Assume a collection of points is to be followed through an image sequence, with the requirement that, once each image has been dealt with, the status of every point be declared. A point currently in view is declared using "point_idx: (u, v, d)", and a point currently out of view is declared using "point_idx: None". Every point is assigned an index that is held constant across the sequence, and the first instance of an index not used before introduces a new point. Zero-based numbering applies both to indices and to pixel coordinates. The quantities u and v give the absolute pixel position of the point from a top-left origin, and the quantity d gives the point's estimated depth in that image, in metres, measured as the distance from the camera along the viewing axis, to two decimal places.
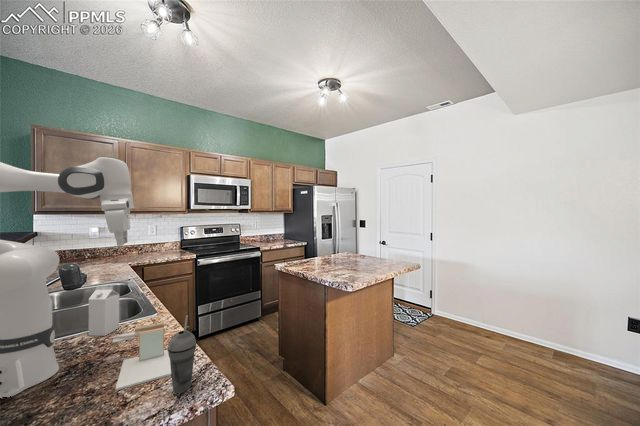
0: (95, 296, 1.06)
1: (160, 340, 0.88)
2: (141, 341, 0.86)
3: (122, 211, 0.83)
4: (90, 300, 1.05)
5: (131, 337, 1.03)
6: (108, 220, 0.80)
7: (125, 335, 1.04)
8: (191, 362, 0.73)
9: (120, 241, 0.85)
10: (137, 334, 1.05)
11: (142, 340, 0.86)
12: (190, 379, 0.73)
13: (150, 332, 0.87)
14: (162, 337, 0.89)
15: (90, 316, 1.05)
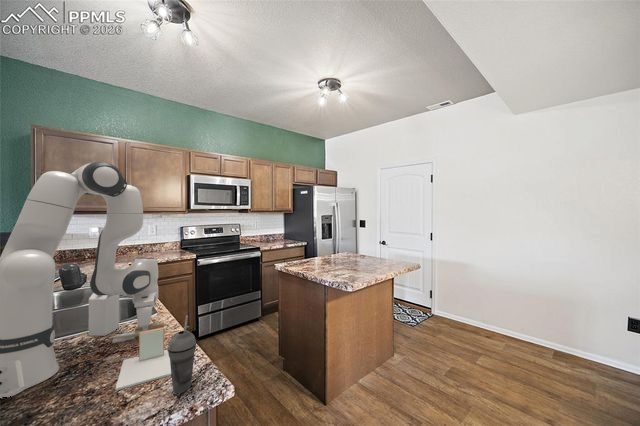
0: (95, 296, 1.06)
1: (160, 340, 0.88)
2: (141, 341, 0.86)
3: (150, 308, 1.00)
4: (90, 300, 1.05)
5: (131, 337, 1.03)
6: (139, 317, 0.98)
7: (125, 335, 1.04)
8: (191, 362, 0.73)
9: (146, 328, 1.05)
10: (137, 334, 1.05)
11: (142, 340, 0.86)
12: (190, 379, 0.73)
13: (150, 332, 0.87)
14: (162, 337, 0.89)
15: (90, 316, 1.05)
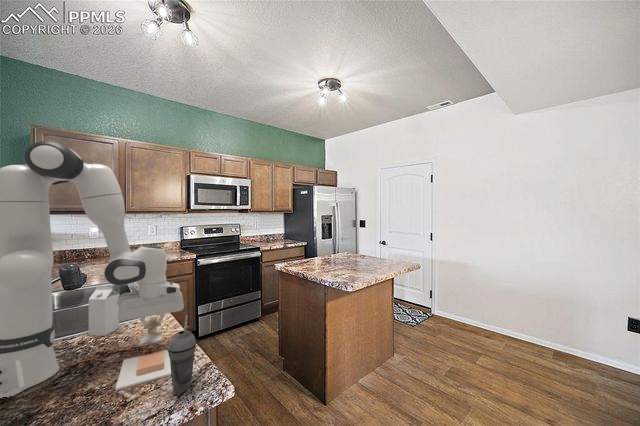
0: (95, 296, 1.06)
1: None
2: None
3: None
4: (90, 300, 1.05)
5: (159, 333, 0.92)
6: None
7: (148, 337, 0.89)
8: (191, 362, 0.73)
9: None
10: (156, 330, 0.93)
11: None
12: (190, 379, 0.73)
13: (149, 371, 0.79)
14: None
15: (90, 316, 1.05)
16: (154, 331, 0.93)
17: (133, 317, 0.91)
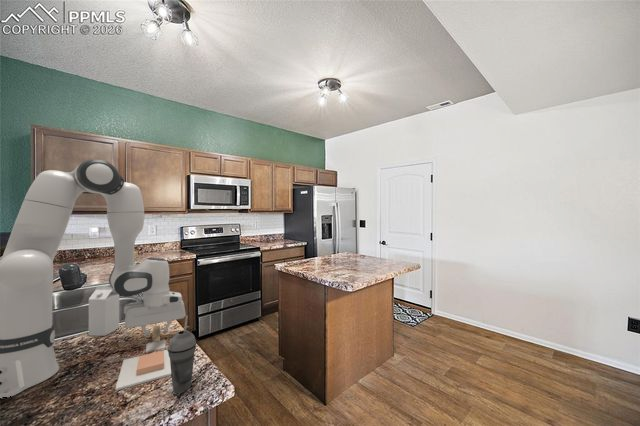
0: (95, 296, 1.06)
1: None
2: None
3: (182, 300, 1.09)
4: (90, 300, 1.05)
5: (162, 341, 0.99)
6: (184, 308, 1.06)
7: (152, 345, 0.96)
8: (191, 362, 0.73)
9: (167, 327, 1.04)
10: (159, 338, 1.01)
11: None
12: (190, 379, 0.73)
13: (149, 371, 0.79)
14: None
15: (90, 316, 1.05)
16: (158, 339, 1.00)
17: (138, 325, 0.98)
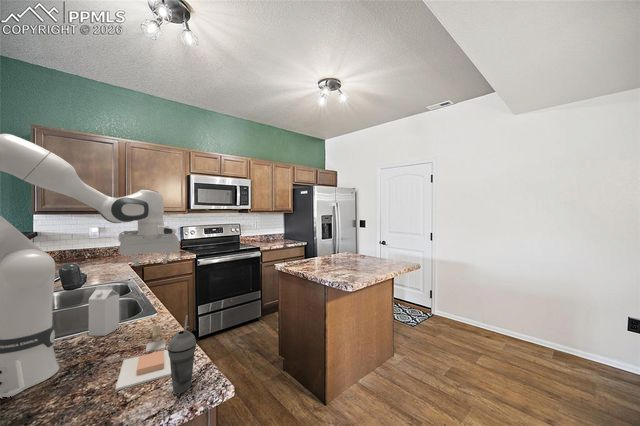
0: (95, 296, 1.06)
1: None
2: None
3: None
4: (90, 300, 1.05)
5: (162, 341, 0.99)
6: (178, 242, 1.08)
7: (152, 345, 0.96)
8: (191, 362, 0.73)
9: (166, 259, 1.07)
10: (159, 338, 1.01)
11: None
12: (190, 379, 0.73)
13: (149, 371, 0.79)
14: None
15: (90, 316, 1.05)
16: (158, 339, 1.00)
17: (133, 253, 1.00)
